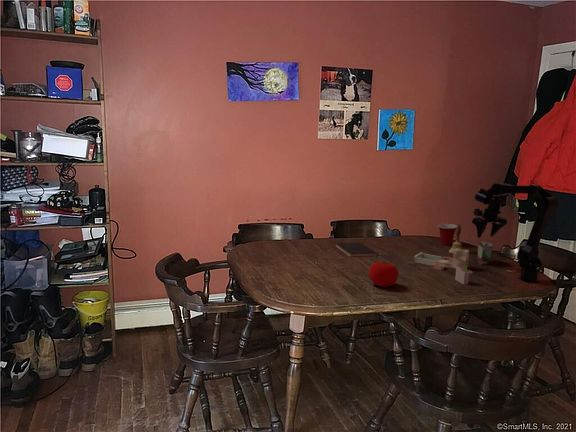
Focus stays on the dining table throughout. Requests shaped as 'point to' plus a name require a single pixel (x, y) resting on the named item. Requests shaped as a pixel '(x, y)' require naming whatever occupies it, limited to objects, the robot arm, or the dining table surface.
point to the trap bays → (443, 265)
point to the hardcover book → (356, 249)
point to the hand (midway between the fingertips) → (485, 237)
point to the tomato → (383, 273)
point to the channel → (426, 258)
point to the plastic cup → (447, 233)
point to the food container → (484, 252)
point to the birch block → (456, 259)
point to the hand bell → (457, 243)
